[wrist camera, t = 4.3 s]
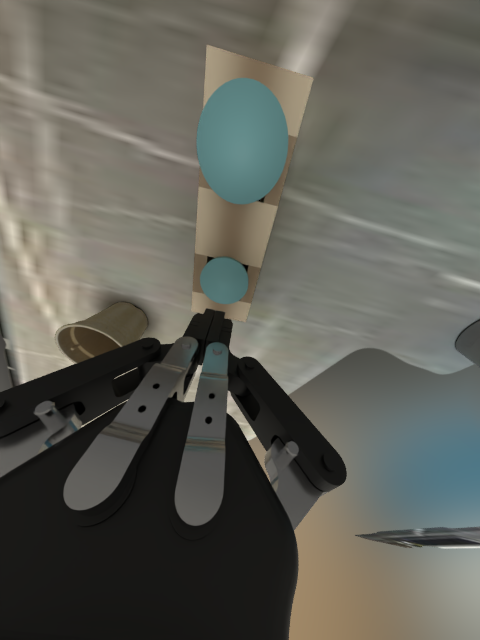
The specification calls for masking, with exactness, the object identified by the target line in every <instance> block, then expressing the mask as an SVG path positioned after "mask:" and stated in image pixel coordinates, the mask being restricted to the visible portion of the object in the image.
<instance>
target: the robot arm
mask: <svg viewBox="0 0 480 640" xmlns="http://www.w3.org/2000/svg"><path fill="white" fill-rule="evenodd" d="M232 326H233V323H232V321H231V320H230V319H225V312H223V311H218V310H213V309H208V308H206V310H205V312H204V314H200V313H197V314H196V315H194V316H193V318H192V320H191V322H190V324H189V326H188V328H187V329H186V331H185V333H184V335H183V337H181V338H179V339H177V340H176V341H175V343H173V344H161V345H160V342H159V340H157V339H155V338H143V339H140V340H138V341H135V342H132V343H130V344H127V345H124V346H122V347H119V348H116V349H114V350H111V351H108V352H106V353H103V354H100V355H98V356H95V357H93V358H90V359H87V360H85V361H82V362H79V363H77V364H74V365H71V366H69V367H66V368H63V369H61V370H58V371H55V372H53V373H50V374H48V375H45V376H42V377H40V378H37V379H34V380H32V381H29V382H26V383H24V384H21V385H18V386H16V387H13V388H10V389H8V390H5V391H3V392H0V640H289V627H290V616H291V609H292V603H293V598H294V594H295V589H296V584H297V577H298V549H297V542H296V537H295V534H294V530H295V529H296V527H297V526H298V525H299V523H300V522H301V521H302V519H303V518H304V517H305V515H306V514H307V513H308V511H309V510H310V509H311V507H312V506H313V505H314V503H315V502H316V501H317V500H318V498H319V497H320V496H322V495H324V494H326V493H327V492H329V491H331V490H333V489H335V488H336V487H338V486H340V485H342V484H343V483H344V482H345V480H346V476H347V475H346V474H347V473H346V467H345V464H344V462H343V460H342V458H341V457H340V455H339V454H338V453H337V451H336V450H335V449H334V448H333V447H332V446H331V445H330V443H329V442H328V441H327V440H326V439H325V438H324V436H323V435H322V434H321V433H320V432H319V431H318V430H317V428H316V427H315V426H314V425H313V424H312V423H311V422H310V420H309V419H308V418H307V417H306V416H305V415H304V413H303V412H302V411H301V410H300V409H299V408H298V407H297V405H296V404H295V403H294V402H293V401H292V400H291V399H290V397H289V396H288V395H287V394H286V393H285V392H284V390H283V389H282V388H281V387H280V386H279V385H278V384H277V382H276V381H275V380H274V379H273V378H272V377H271V376H270V374H269V373H268V372H267V371H266V370H265V369H264V367H263V366H262V365H261V364H260V363H259V362H258V361H257V360H256V359H254V358H252V357H243V358H241V359H239V358H237V357H235V356H234V355H233V354H232V353H231V352H230V350H229V344H230V338H231V332H232ZM456 349H457V350H458V351H459V352H460V353H461V354H462V355H464V356H465V357H467V358H468V359H469V360H471V361H472V362H473V363H475V364H476V365H477V366H479V367H480V321H478V322H476V323H475V324H473V325H471V326H470V327H469V328H467V329H466V330H465V331H464V332H463V333H462V334H461V335H460V336H459V338H458V340H457V342H456ZM203 360H204V361H203ZM202 363H203V367H202V372H201V374H200V379H199V383H198V388H197V393H196V398H195V402H184V399H185V397H186V394H187V392H188V390H189V387H190V385H191V383H192V381H193V378H194V376H195V372H196V370H197V367H198V365H202ZM136 367H138V368H136ZM134 368H136V369H134ZM132 369H134V370H132ZM130 370H132V371H130ZM128 371H130V372H128ZM126 372H128V373H126ZM123 373H126V374H124V375H122V376H120V377H118V378H116V377H117V376H119V375H121V374H123ZM114 378H115V379H114ZM228 391H230V393H231V396H232V397H233V399H234V401H235V402H236V404H237V405H238V407H239V409H240V410H241V412H242V413H243V415H244V416H245V418H246V420H247V421H248V423H249V424H250V426H251V427H252V429H253V431H254V432H255V434H256V435H257V437H258V439H259V440H260V442H261V443H262V445H263V446H264V448H265V450H266V451H267V452H266V455H265V467H266V470H267V472H268V474H269V477H270V481H271V483H270V482H269V480H268V478H267V476H266V474H265V472H264V471H263V469H262V467H261V465H260V463H259V461H258V460H257V458H256V456H255V454H254V452H253V450H252V448H251V447H250V445H249V443H248V441H247V439H246V437H245V436H244V434H243V432H242V430H241V428H240V427H239V425H238V423H237V422H236V421H235V420H234V418H233V417H232V416H230V415H229V414H228V413H226V412H227V393H228ZM127 399H129V400H128V401H126V400H127ZM124 401H126V402H124ZM122 402H124V403H122ZM120 403H122V404H120ZM119 404H120V405H119ZM117 405H118V406H117ZM115 406H116V407H115ZM113 407H115V408H113ZM112 408H113V409H112ZM110 409H111V410H110ZM108 410H110V411H108ZM106 411H108V412H107V413H105V412H106ZM103 413H105V414H103ZM101 414H103V415H102V416H100V417H98V416H99V415H101ZM96 417H98V418H97V419H95V420H93V419H94V418H96ZM91 420H93V421H92V422H90V423H88V424H87V425H85V426H84V427H82V428H81V426H82V425H84V424H86V423H87V422H89V421H91Z"/></svg>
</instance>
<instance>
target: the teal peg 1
mask: <svg viewBox="0 0 480 640" xmlns="http://www.w3.org/2000/svg"><path fill="white" fill-rule="evenodd" d="M287 152H288V128H287V123H286V118H285V115H284V112H283V110H282V107H281V105H280V103H279V101H278V100H277V98H276V96H275V95H274V94H273V93H272V91H271V90H270V89H268V88H267V87H266V86H265V85H264V84H262V83H260V82H259V81H256V80H254V79H249V78H237V79H232V80H230V81H228V82H226V83H224V84H223V85H221V86H220V87H219V88H218V89H217V90H216V91H215V92H214V93H213V94H212V95H211V97H210V98H209V99H208V101H207V103H206V105H205V107H204V109H203V111H202V114H201V117H200V120H199V124H198V130H197V155H198V160H199V164H200V167H201V170H202V173H203V175H204V177H205V179H206V181H207V183H208V184H209V186H210V187H211V188H212V190H213V191H214V192H215V193H216V194H217V195H218V196H220V197H221V198H223V199H224V200H226V201H228V202H231V203H234V204H250V203H253V202H255V201H258V200H260V199H261V198H263V197H264V196H265V195H266V194H268V193H269V192H270V191H271V189H272V188H273V187H274V186H275V184H276V183H277V181H278V179H279V178H280V176H281V173H282V171H283V168H284V165H285V162H286V158H287Z"/></svg>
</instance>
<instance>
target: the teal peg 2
mask: <svg viewBox="0 0 480 640" xmlns="http://www.w3.org/2000/svg"><path fill="white" fill-rule="evenodd" d="M200 284H201V288H202V290H203V292H204V293H205V295H206V296H207V297H208V298H209V299H211V300H212V301H214V302H216V303H220V304H232V303H235V302H237V301H239V300H240V299H241V298H242V297H243V296H244V295H245V294H246V292H247V289H248V274H247V271H246V269H245V268H244V266H243V265H242V264H241V263H240V262H239V261H237V260H236V259H234V258H231V257H226V256H221V257H216V258H214V259H212V260H210V261H209V262H208V263H207V264H206V265H205V267H204V268H203V270H202V272H201V275H200Z"/></svg>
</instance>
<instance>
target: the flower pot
mask: <svg viewBox="0 0 480 640" xmlns="http://www.w3.org/2000/svg"><path fill="white" fill-rule="evenodd" d="M147 324H148V321H147V318H146V316H145V314H144V313H143V312H142V310H140V309H138V308H136V307H134V306H133V305H132V304H130V303H125V302H120V303H116V304H114V305H112V306H110V307H109V308H107V309H105V310H103V311H101V312H99V313H97V314H95V315H93V316H92V317H90V318H88V319H86V320H84V321H79V322H76V323H73V324H67V325H64V326H62V327H61V328H59V329H58V330H57V331H56V334H55V342H56V345H57V347H58V348H59V350H60V351H61V352H62V354H63V355H65V356H66V357H67V358H68V359H69V360H71V361H72V362H73V363H75V364H77V363H79V362H82V361H85V360H87V359H90V358H93V357H95V356H98V355H100V354H103V353H106V352H108V351H111V350H114V349H116V348H119V347H122V346H124V345H127V344H130V343H132V342H135V341H138V340H140V338H141V336H142V334H143V333H144V331H145V329H146V327H147Z"/></svg>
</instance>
